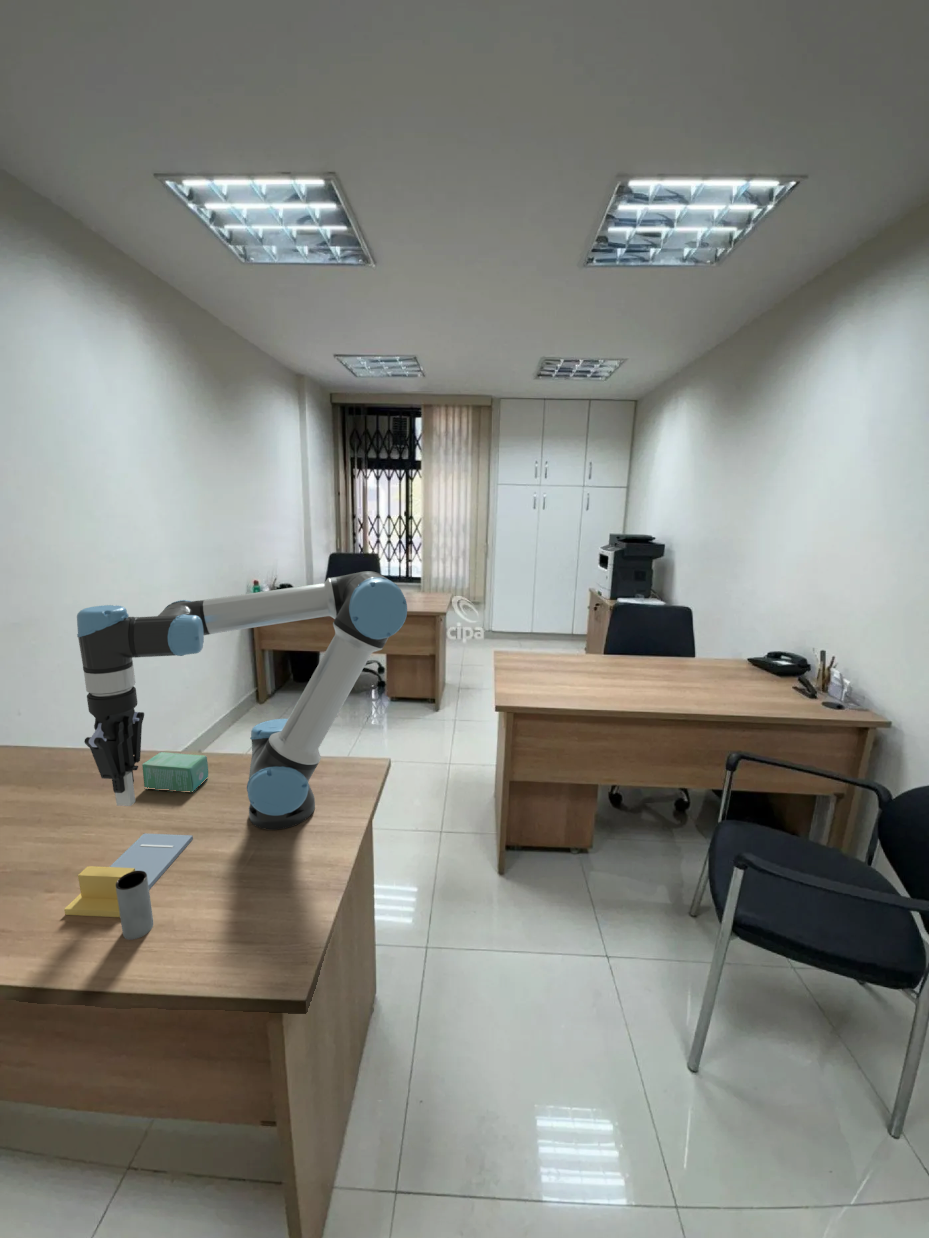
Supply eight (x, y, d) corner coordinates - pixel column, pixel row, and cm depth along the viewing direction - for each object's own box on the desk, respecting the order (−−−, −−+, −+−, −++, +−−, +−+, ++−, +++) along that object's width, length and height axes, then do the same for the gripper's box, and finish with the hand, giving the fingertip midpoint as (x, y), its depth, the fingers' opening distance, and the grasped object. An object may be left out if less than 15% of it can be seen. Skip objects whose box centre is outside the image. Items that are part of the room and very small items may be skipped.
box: (193, 793, 130) (191, 767, 128) (143, 790, 131) (140, 764, 129) (210, 779, 137) (207, 753, 135) (162, 776, 138) (159, 751, 136)
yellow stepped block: (145, 894, 96) (141, 866, 95) (124, 917, 91) (120, 888, 89) (88, 891, 96) (84, 864, 95) (65, 914, 91) (59, 886, 89)
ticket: (193, 840, 112) (192, 834, 112) (146, 894, 96) (145, 888, 96) (144, 838, 112) (143, 832, 112) (90, 891, 97) (89, 885, 96)
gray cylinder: (132, 920, 90) (124, 870, 88) (158, 919, 91) (152, 869, 88) (117, 941, 86) (109, 890, 84) (145, 940, 86) (138, 888, 84)
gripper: (116, 677, 100) (130, 784, 105) (63, 701, 87) (81, 823, 92) (153, 678, 99) (165, 786, 105) (105, 703, 87) (121, 825, 92)
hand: (126, 803), depth 98 cm, fingers closed
